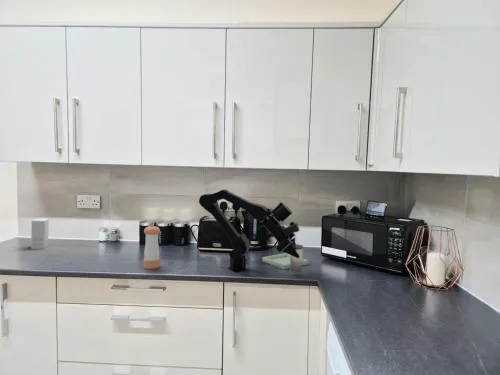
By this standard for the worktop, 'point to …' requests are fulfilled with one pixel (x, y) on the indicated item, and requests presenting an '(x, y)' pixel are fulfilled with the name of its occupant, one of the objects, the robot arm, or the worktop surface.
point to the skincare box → (39, 233)
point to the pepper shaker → (151, 248)
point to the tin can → (296, 259)
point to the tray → (281, 261)
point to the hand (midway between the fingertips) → (299, 255)
